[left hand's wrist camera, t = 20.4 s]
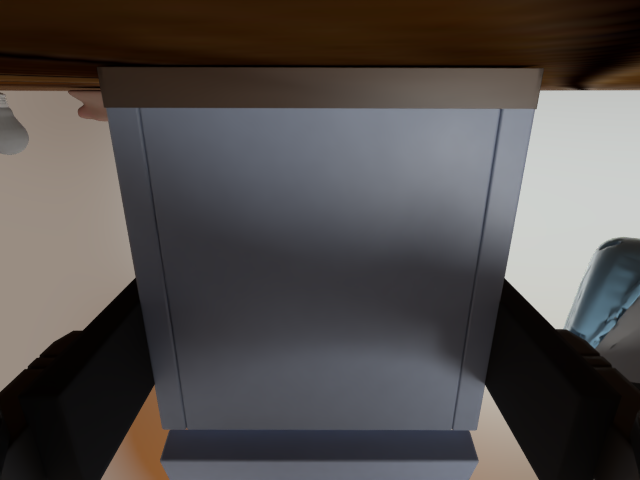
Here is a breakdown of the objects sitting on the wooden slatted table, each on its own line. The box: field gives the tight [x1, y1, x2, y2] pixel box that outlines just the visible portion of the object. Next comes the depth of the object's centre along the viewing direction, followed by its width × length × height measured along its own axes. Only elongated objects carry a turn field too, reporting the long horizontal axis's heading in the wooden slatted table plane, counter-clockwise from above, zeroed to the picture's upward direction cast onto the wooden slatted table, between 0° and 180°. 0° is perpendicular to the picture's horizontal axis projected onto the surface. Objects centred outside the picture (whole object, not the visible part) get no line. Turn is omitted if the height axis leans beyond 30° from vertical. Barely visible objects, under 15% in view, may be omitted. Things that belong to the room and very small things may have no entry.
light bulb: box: [0, 93, 29, 155], centre depth 65 cm, size 6×6×10 cm
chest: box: [97, 67, 544, 430], centre depth 18 cm, size 17×10×10 cm, turn 0°
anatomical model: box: [68, 90, 108, 121], centre depth 42 cm, size 13×4×12 cm
